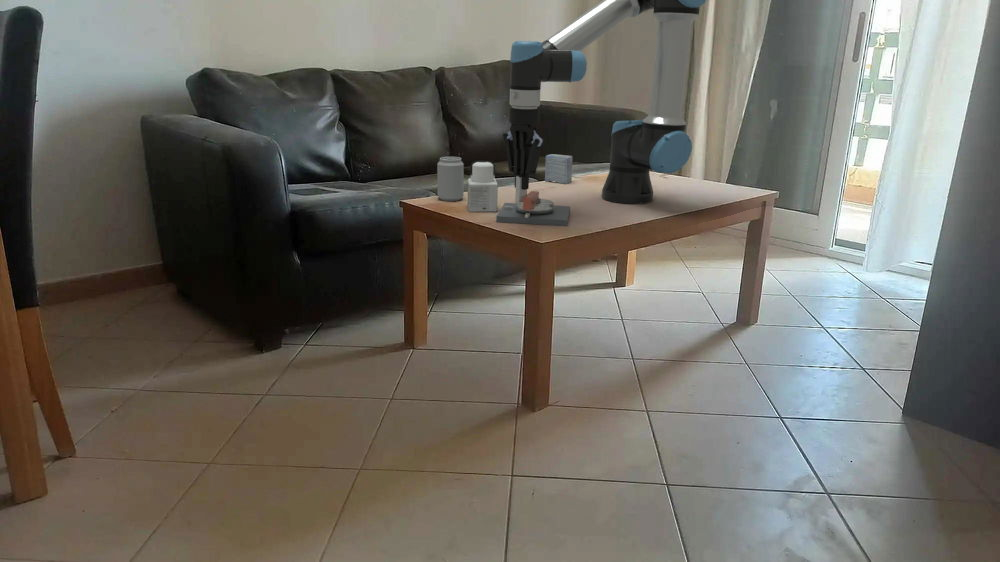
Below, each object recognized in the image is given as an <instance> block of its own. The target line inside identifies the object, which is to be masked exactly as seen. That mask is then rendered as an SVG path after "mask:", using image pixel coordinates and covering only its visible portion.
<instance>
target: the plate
mask: <svg viewBox="0 0 1000 562" xmlns="http://www.w3.org/2000/svg"><path fill="white" fill-rule="evenodd" d="M570 212H571V206H570V205H555V204H554V209H553V212H552V213H548V214H530V213H526V214H525V213H520V212H518V211H516V202H504V203H503V205H502V207H501V208H500V210H499V212H498V213H497V215H496V217H495V220H496V221H495V222H496V223H510V224H528V225H540V226H541V225H544V226H559V227H560V226H561V227H562V226H563V227H567V226H568V222H569V217H570Z"/></svg>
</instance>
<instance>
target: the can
mask: <svg viewBox="0 0 1000 562" xmlns="http://www.w3.org/2000/svg"><path fill="white" fill-rule="evenodd" d="M464 164H465V163H464V162H463V161H462V158H461V157H460V156H442V157H440V158H439V161H438V162H437V167H436V168H437V169H436V170H437V171H436V173H437V176H436V177H437V197H438V198H439V199H440V200H441V201H443V202H458V201H461V200H462V198H464V193H465V191H464V189H465V188H464V179H465V178H464V171H465V170H464V167H465V165H464Z"/></svg>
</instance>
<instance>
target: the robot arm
mask: <svg viewBox="0 0 1000 562" xmlns="http://www.w3.org/2000/svg"><path fill="white" fill-rule="evenodd" d="M706 2H707V0H600V1H599V2H597V3H596V4H595V5H594V6H592V7H591V8H589V9H588V10H587V11H585V12H584V13H582V14H581V15H580V16H578V17H577V18H575V19H574V20H573V21H571V22H569V23H568V24H567V25H565V26H564V27H563V28H561V29H560V30H558V31H557V32H556V33H554V34H553V35H551V36H550V37H548V38H547V39H546V40H544V41H542V42H541V41H537V40H535V41H533V40H532V41H531V40H515V41H514V42H513V43H512V44H511V50H510V59H509V62H510V71H509V73H510V76H509V77H510V78H509V105H510V106H511V107H509V109H508V122H509V124H510V127H509V130H508V131H507V132H504V133H502V137H503V141H504V143H505V151H506V159H507V164H508V165H507V166H508V171H509V172H510V173H513V175H514V188H515V198H514V200H515V202H514V203H516V202H523V198H524V197H525V196H526V195H527V194H528V189H529V188H530V186H529V183H530V176H533V175H534V176H535V175H536V174H537V169H538V164H539V160H540V154H541V150H542V148H543V145H544V144H545V141H546V140H545V138H544V137H540V135H538V134H539V133H538V132H539V131H538V127H537V125H538V124H539V123H540V112H541V111H540V109H539V108H538V107H540V105H541V88H542V86H541V85H542V83H546V82H547V83H549V82H550V83H551V82H552V83H573V82H580V81H582V80H583V78H584V77H585V75H586V72H587V64H588V63H587V57H586V56H585V53H583V52H582V50H584V49H586V48H587V47H588V46H589V45H591V44H592V43H594V42H595V41H598V39H600V38H601V37H602V36H605V34H606V33H608V32H610V31H611V30H612V29H614V28H615V27H617V26H618V25H620V23H622V22H624V21H625V20H627V19H628V18H636V17H637V16H639V15H640V14H642V13H644V12H646V11H649V10H653V12H652V13H653V14H652V15H653V16H654V17H655V18H656V20H657V24H658V25H657V32H656V33H657V34H656V42H655V53H654V60H653V61H654V62H653V72H652V78H651V92H650V99H649V100H650V101H649V108H648V109H649V110H648V111H649V112H648V115H647V116H646V117H645V118H644V119H636V120H634V119H632V120H617V121H615V122H614V123H613V125H612V131H611V134H610V135H611V140H610V141H611V142H610V143H611V144H610V155H609V156H610V157H609V158H610V159H609V172H608V174H607V177H606V179H605V181H604V184H603V187H602V189H601V198H602V199H603V200H605V201H608V202H613V203H620V204H646V203H651V202H652V201H653V200H654V189H653V185H652V181H651V176H650V171H654V172H656V173H660V174H661V173H664V174H673V173H676V172H678V171H680V170H681V169H682V167H683V166H685V165H686V164H687V163H688V161H689V159H690V158H691V155H692V150H693V143H692V139H690V136H689V134H687V133H686V127H687V122H686V121H685V120H684V119H683V118H682V110H683V101H684V95H685V86H686V85H685V84H686V77H687V67H688V61H689V60H688V59H689V53H690V52H689V51H690V43H691V33H692V25H693V22H694V21H695V20H696V19H697V18H698V17H700V11H701V10H700V9H701V7H702V6H703V5H704V4H705V3H706Z"/></svg>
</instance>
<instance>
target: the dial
mask: <svg viewBox="0 0 1000 562" xmlns="http://www.w3.org/2000/svg"><path fill="white" fill-rule="evenodd" d="M515 203H516V211H518V212H520V213H525V214H526V213H530V214H548V213H552V212H553V209H554V205H555V203H554V202H553V201H552V200H549V199H544V198H540V191H536V190H534V191H533V190H531V191H530V192H528V193H527V195H526V196H525V197H524V198H523V202H515Z"/></svg>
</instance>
